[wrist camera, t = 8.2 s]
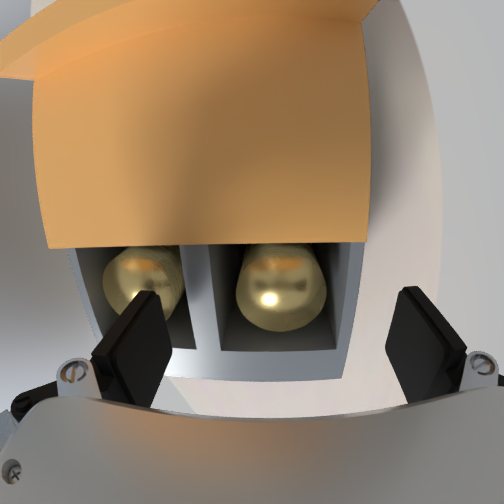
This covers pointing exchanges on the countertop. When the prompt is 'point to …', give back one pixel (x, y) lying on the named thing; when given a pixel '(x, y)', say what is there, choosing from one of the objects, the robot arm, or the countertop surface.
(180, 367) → the housing
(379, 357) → the countertop surface
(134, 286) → the pin
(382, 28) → the countertop surface
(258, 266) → the pin
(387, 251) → the countertop surface
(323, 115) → the cover
